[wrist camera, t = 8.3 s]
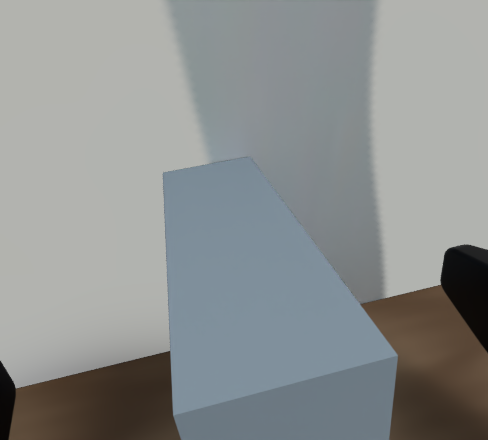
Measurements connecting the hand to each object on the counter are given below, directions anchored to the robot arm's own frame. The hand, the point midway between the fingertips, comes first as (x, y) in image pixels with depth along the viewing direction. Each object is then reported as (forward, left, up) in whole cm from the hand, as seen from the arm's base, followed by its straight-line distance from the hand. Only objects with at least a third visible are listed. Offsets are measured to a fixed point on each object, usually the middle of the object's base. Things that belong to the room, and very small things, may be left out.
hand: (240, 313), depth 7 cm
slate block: (0, +4, -2) cm, 4 cm away
